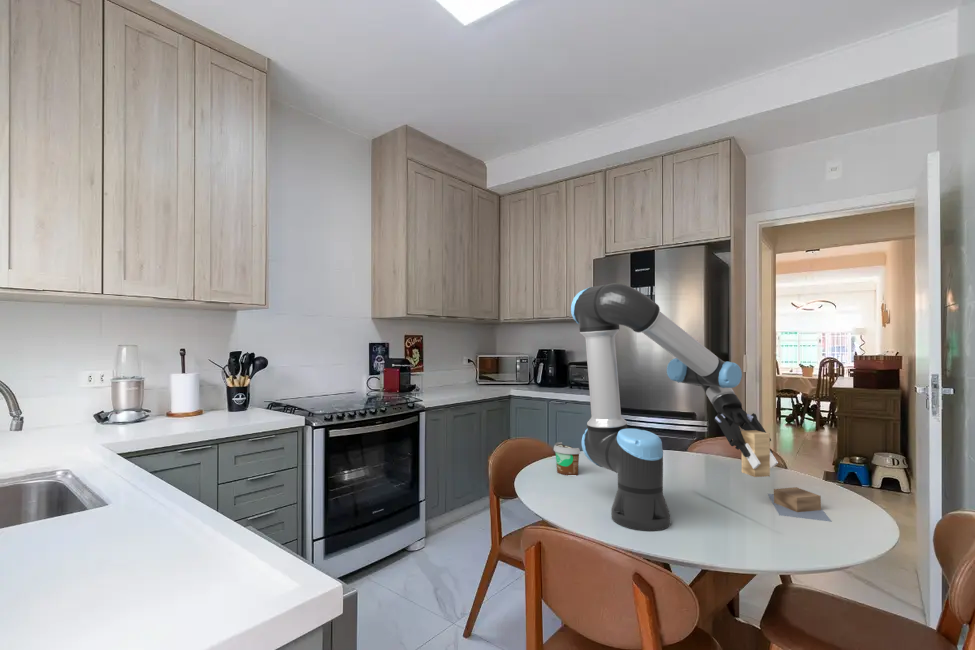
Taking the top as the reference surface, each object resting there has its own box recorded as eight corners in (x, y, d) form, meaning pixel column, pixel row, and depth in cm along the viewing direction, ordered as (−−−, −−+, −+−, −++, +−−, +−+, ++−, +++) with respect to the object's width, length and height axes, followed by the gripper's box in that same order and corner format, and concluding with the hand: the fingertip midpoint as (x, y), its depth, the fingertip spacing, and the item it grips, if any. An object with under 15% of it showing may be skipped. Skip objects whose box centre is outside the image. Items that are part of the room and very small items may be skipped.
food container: (547, 469, 176) (547, 442, 177) (560, 467, 179) (560, 441, 179) (565, 478, 165) (565, 449, 166) (580, 476, 168) (580, 448, 168)
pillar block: (769, 476, 133) (769, 433, 133) (754, 477, 132) (754, 433, 132) (756, 471, 137) (755, 430, 138) (741, 472, 136) (741, 430, 137)
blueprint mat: (832, 523, 124) (832, 521, 124) (779, 517, 129) (779, 515, 129) (812, 500, 142) (812, 498, 142) (767, 495, 147) (767, 493, 147)
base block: (820, 510, 132) (820, 495, 133) (797, 512, 131) (796, 497, 131) (796, 500, 140) (796, 487, 140) (774, 502, 138) (773, 489, 139)
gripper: (742, 406, 152) (785, 471, 135) (693, 407, 148) (731, 474, 132) (754, 392, 147) (800, 457, 130) (704, 392, 143) (745, 459, 127)
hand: (765, 465), depth 131 cm, fingers closed on pillar block, 5 cm apart
